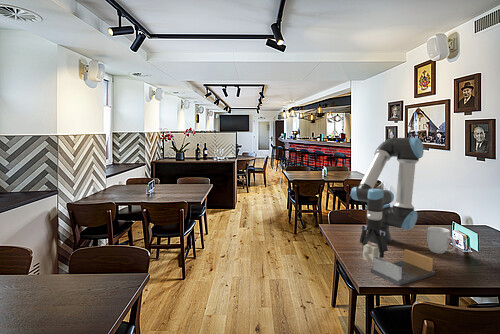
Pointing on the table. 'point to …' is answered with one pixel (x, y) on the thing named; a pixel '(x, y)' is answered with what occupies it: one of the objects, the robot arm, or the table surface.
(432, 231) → the mug
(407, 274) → the base
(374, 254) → the block
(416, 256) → the bar
